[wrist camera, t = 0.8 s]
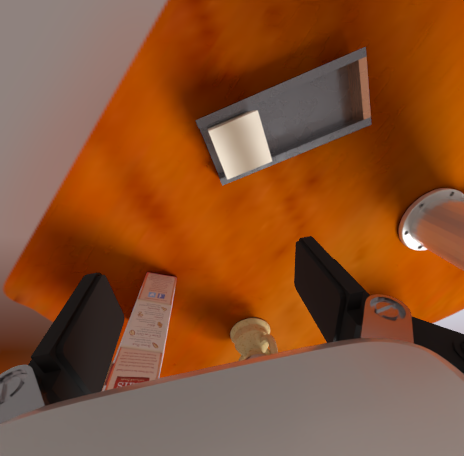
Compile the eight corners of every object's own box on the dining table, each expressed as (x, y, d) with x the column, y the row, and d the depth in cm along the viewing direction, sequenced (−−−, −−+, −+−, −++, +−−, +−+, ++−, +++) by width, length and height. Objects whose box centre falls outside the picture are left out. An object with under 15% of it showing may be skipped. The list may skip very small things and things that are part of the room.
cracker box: (144, 270, 41) (97, 398, 23) (178, 275, 43) (158, 400, 24) (135, 324, 47) (90, 462, 28) (165, 327, 48) (141, 461, 30)
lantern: (250, 354, 55) (295, 576, 29) (218, 341, 52) (234, 579, 25) (283, 323, 52) (368, 545, 25) (251, 307, 48) (309, 544, 22)
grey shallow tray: (349, 53, 30) (365, 46, 27) (356, 123, 34) (371, 124, 31) (196, 120, 31) (195, 120, 28) (220, 179, 35) (222, 185, 32)
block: (248, 110, 31) (257, 110, 25) (261, 153, 33) (272, 161, 28) (207, 128, 31) (208, 131, 26) (223, 169, 34) (227, 179, 28)
